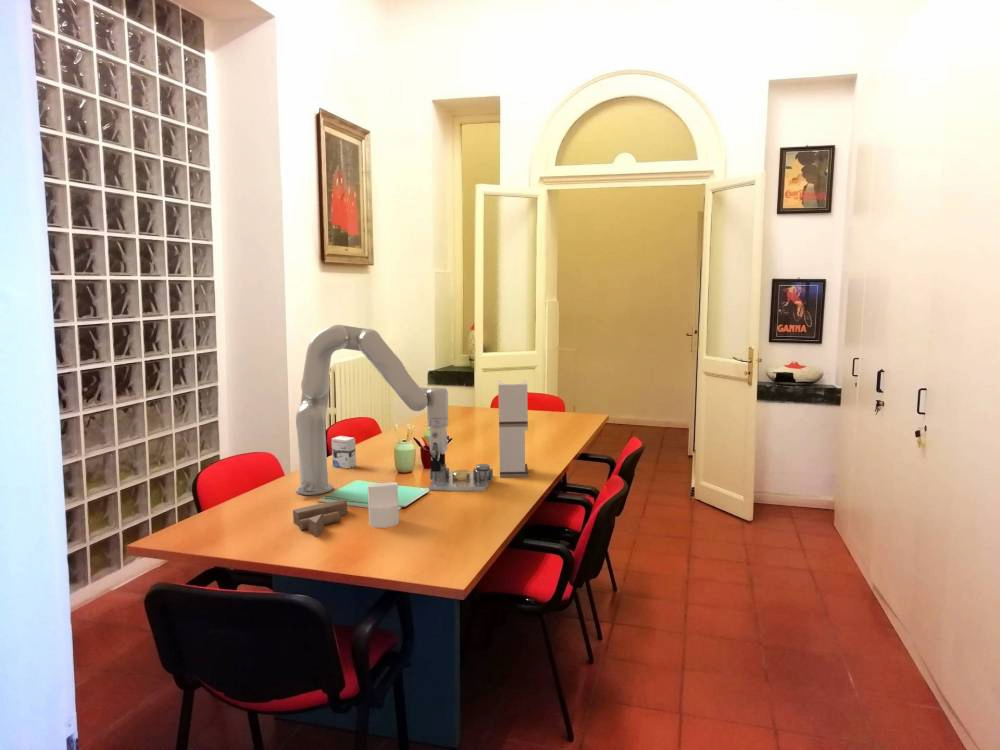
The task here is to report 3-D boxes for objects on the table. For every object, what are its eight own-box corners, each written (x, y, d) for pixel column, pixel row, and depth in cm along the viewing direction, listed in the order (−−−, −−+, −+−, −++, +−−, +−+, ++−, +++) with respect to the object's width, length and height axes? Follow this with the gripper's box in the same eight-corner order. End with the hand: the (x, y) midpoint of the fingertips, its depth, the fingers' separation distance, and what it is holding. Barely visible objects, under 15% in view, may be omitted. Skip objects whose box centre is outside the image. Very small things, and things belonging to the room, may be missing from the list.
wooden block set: (289, 506, 213) (343, 495, 224) (290, 524, 213) (344, 512, 224) (311, 520, 200) (368, 507, 211) (312, 539, 200) (369, 525, 211)
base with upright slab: (370, 529, 207) (368, 490, 205) (367, 519, 216) (366, 481, 214) (400, 525, 209) (399, 487, 208) (397, 516, 218) (395, 479, 216)
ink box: (332, 466, 280) (330, 438, 278) (340, 463, 284) (339, 435, 283) (348, 469, 276) (347, 440, 274) (356, 466, 280) (355, 437, 279)
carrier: (489, 491, 243) (489, 473, 242) (429, 490, 245) (428, 472, 244) (495, 475, 263) (495, 458, 262) (439, 474, 265) (439, 458, 264)
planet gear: (447, 481, 251) (446, 467, 250) (428, 480, 252) (428, 467, 251) (450, 476, 258) (450, 462, 257) (432, 475, 258) (431, 462, 258)
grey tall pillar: (528, 476, 260) (527, 384, 256) (499, 477, 260) (498, 384, 256) (526, 468, 272) (525, 380, 267) (499, 469, 272) (498, 380, 267)
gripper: (443, 426, 243) (444, 474, 245) (452, 417, 260) (452, 462, 262) (422, 426, 244) (423, 473, 246) (432, 417, 261) (432, 461, 263)
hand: (438, 467), depth 254 cm, fingers open, 9 cm apart
